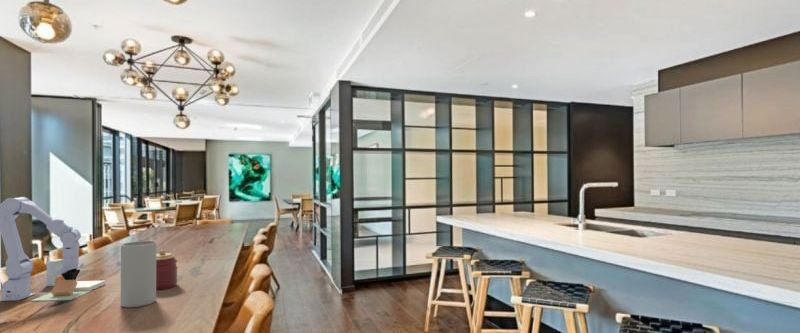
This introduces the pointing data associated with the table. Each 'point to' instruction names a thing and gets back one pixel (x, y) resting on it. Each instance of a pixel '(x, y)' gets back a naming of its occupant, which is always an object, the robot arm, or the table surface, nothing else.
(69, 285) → the brick
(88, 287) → the board
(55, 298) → the mat
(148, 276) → the cylinder vase
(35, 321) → the table surface
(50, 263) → the skincare box
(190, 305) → the table surface
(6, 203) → the robot arm
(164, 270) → the canister
